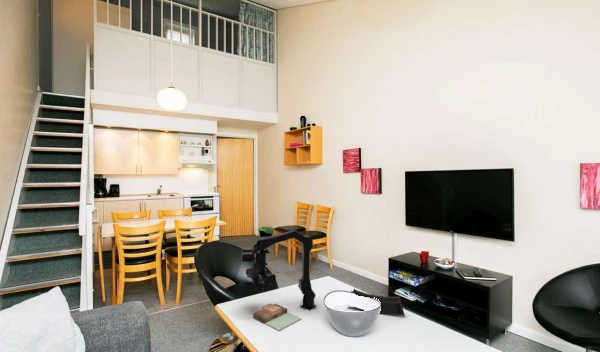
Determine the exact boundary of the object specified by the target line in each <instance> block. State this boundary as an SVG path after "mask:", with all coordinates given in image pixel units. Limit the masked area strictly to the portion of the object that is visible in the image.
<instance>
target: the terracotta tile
mask: <svg viewBox="0 0 600 352" xmlns="http://www.w3.org/2000/svg"><path fill="white" fill-rule="evenodd" d="M261 310H262V311H264V312H266V313H268V314H270V315H275V314H277V313H279V312H281V308H280V307H278V306H275V305H274V304H273V303H268V304H265V305H263V306H261Z"/></svg>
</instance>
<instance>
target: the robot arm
mask: <svg viewBox="0 0 600 352" xmlns="http://www.w3.org/2000/svg"><path fill="white" fill-rule="evenodd" d="M291 239H294V240H297V241H298V242H300V247H301V251H302V258H301V278H300V279H299V278H298V279H297V281H298V285H297V287H298V288H299V290H300V292H301V294H302V295H303V296H302V304H301V305H300V307H301V308H303V309H306V310H308V311H310V310H312V309H314V308H316V307H317V305H316V304H315V298H316V293H315V291H314V290H313V289H312V288H313V287H312V283H311V279H310V276H311V275H310V274H311V273H310V269H311V268H310V266H311V265H310V264H311V251H312V249H313V244H314V240H313V239H312V238H311V237H310V236H309V235H307V234H302V233H301V232H298V231H297V230H295V229H291V230H289V231H285V232H282V233H281V232H280V233H279V234H274V235H272V236H259V237H258V238H256V239H255V244H254V245H253V246H252V247H251V248H249V249H247V248H242V250H241V263H252V262H253V261H254V260H255V262H254V263H253V264H252V267H249V268H246V270H245V275H246V278H249V279H250V280H252V282H253V286H254V289H255V290H257V289H258V285H259V282H260V281H261V283H262V292H263V293H266V291H267V290H268V287H269V285H270V283H271V282H273V281H275V280H276V279H277V275H276V274H274V273H271V272H269V273H268V270H267V266H268V262H267V254H270V253H271V251H270V250H269V249H268V248H270V247H272V245H274V244H279V243H282V242H284V241H287V240H291ZM260 277H262V280H260ZM259 280H260V281H259Z"/></svg>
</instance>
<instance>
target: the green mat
mask: <svg viewBox="0 0 600 352" xmlns="http://www.w3.org/2000/svg"><path fill="white" fill-rule="evenodd" d="M301 320H302V318H301V317H299V316H297V315H295V314H293V313H290V312H287V313H286V314H284V315H281V316H279V317H277V318H275V319H273V320H271V321H269V322H267V323H265V324H264V325H266V326H267V327H270V328H272V329H274V330H276V331H278V332H281V331H282V330H284V329H286V328H288V327H290V326H292V325H295V323H297V322H299V321H301Z"/></svg>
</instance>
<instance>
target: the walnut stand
mask: <svg viewBox="0 0 600 352" xmlns="http://www.w3.org/2000/svg"><path fill="white" fill-rule="evenodd" d="M273 305H275V306H278V307H280V308H281V312H279V313H277V314H275V315H270V314H268V313H266V312H264V311H262V309H259V310H257V311H255V312H253V313H252V319H254V320H256V321H258V322H260V323H262V324H263V325H266V324H265V323H267V322H269V321H271V320H273V319H275V318H277V317H279V316H281V315H284V314H286V313H288V308H287V307H284V306H282V305H280V304H277V303H274V304H273Z"/></svg>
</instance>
